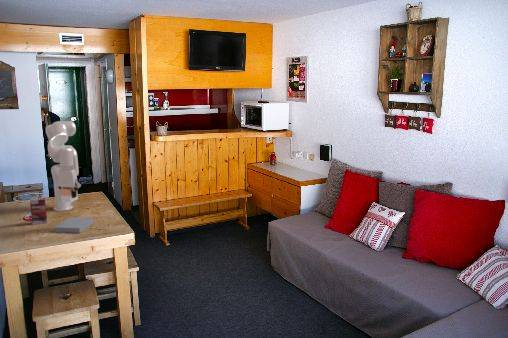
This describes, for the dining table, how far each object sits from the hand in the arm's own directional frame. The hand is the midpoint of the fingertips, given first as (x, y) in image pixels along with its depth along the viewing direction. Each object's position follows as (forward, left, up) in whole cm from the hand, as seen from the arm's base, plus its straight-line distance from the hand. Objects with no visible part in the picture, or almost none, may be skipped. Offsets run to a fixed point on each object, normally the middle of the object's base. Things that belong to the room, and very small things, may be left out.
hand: (69, 196), depth 265 cm
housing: (0, 0, -2) cm, 2 cm away
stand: (0, +1, -20) cm, 20 cm away
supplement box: (-6, -25, -20) cm, 32 cm away
